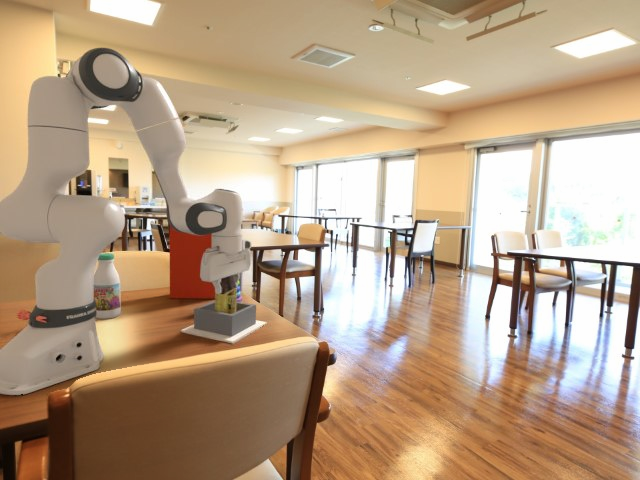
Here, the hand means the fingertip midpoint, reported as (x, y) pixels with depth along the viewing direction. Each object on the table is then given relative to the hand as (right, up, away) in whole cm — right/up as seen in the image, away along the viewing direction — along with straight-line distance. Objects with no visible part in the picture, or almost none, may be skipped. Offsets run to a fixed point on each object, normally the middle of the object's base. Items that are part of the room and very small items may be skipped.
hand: (226, 290), depth 115 cm
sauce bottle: (-1, -11, +1) cm, 11 cm away
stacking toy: (-4, -9, +22) cm, 24 cm away
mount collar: (-1, -12, +1) cm, 12 cm away
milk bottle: (-40, -9, +8) cm, 42 cm away
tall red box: (-20, -7, +34) cm, 40 cm away
